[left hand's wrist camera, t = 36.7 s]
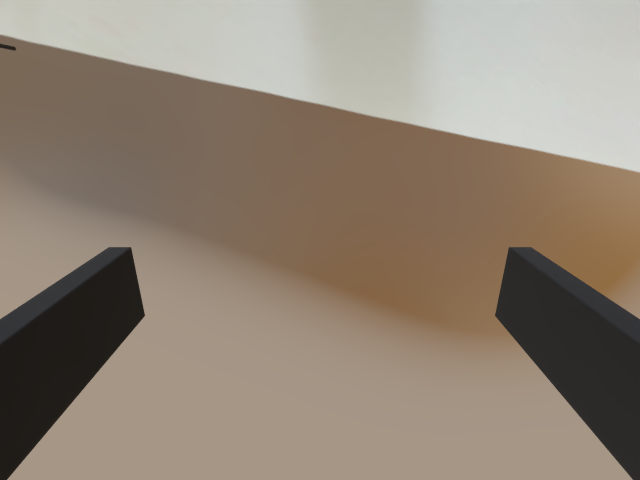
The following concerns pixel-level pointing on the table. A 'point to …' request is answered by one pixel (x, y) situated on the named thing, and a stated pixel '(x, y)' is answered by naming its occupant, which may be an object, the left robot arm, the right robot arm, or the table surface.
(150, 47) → the table surface
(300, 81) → the table surface
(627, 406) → the left robot arm
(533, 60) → the table surface
